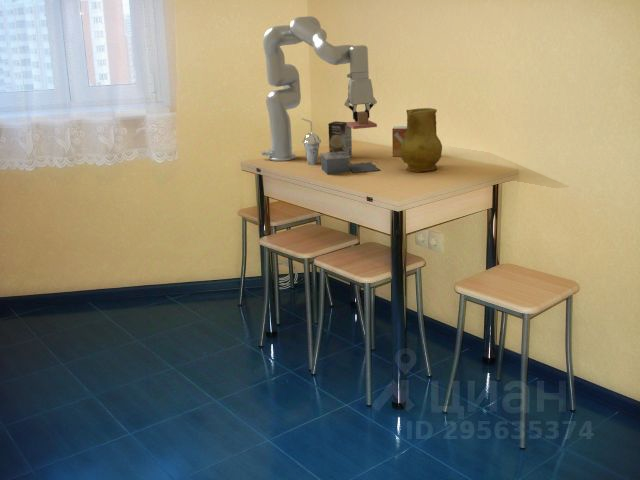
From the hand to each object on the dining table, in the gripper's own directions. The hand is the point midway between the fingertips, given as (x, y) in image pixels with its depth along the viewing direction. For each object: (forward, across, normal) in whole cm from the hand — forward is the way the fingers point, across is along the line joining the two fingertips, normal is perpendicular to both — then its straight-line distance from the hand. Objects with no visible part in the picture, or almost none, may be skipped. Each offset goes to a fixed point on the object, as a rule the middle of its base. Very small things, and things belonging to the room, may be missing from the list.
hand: (361, 120), depth 308 cm
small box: (+21, +24, +20) cm, 37 cm away
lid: (+2, 0, 0) cm, 2 cm away
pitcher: (+21, +23, -12) cm, 33 cm away
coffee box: (+21, -3, +28) cm, 35 cm away
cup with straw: (+21, -18, +20) cm, 34 cm away
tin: (+21, -12, 0) cm, 24 cm away
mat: (+21, 0, 0) cm, 21 cm away
